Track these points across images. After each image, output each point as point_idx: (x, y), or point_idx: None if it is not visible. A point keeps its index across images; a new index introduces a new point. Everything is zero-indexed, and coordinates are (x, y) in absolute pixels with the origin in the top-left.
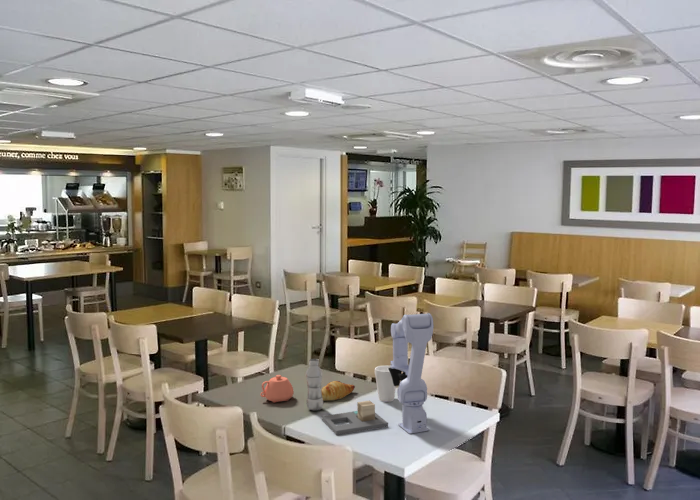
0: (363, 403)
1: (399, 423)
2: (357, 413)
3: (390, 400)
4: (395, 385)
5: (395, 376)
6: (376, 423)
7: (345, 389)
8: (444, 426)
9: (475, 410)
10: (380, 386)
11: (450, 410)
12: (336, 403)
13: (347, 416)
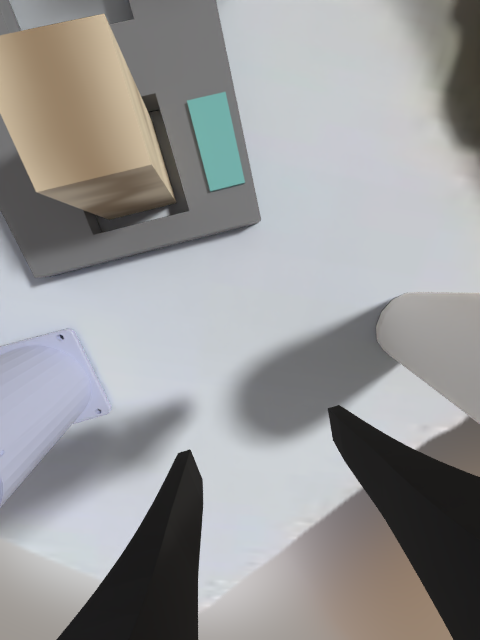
0: (65, 79)
1: (71, 336)
2: (191, 115)
3: (379, 339)
4: (330, 417)
5: (389, 489)
6: (17, 210)
7: None
8: (66, 490)
9: (218, 579)
10: (462, 310)
11: (230, 520)
12: (442, 35)
13: (145, 26)
